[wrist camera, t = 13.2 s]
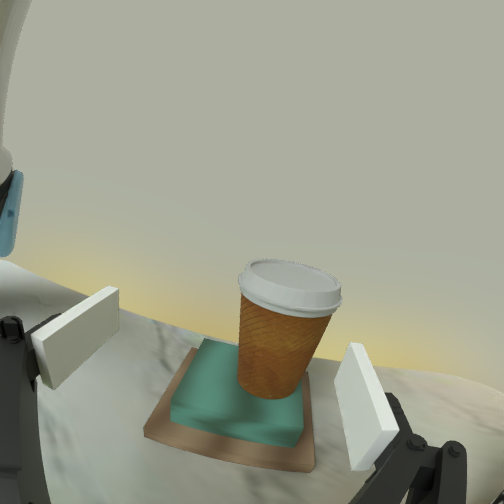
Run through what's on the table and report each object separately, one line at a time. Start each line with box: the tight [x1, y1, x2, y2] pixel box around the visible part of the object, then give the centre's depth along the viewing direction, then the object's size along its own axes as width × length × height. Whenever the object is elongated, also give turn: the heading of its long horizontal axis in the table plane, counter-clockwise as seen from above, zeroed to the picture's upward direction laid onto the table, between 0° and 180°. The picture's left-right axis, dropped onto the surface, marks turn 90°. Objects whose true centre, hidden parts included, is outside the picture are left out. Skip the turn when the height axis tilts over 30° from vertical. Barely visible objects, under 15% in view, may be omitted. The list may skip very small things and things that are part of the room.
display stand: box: [143, 338, 315, 473], centre depth 28 cm, size 16×16×5 cm
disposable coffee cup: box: [237, 259, 342, 400], centre depth 26 cm, size 10×10×12 cm
